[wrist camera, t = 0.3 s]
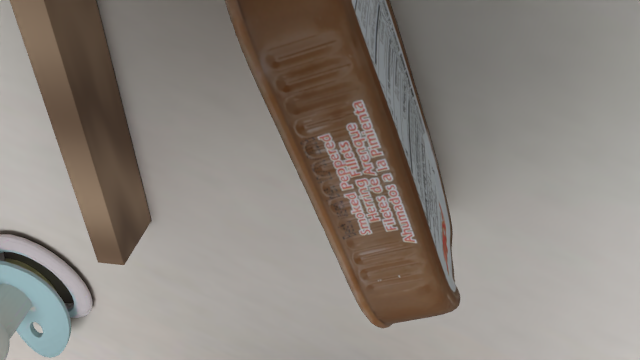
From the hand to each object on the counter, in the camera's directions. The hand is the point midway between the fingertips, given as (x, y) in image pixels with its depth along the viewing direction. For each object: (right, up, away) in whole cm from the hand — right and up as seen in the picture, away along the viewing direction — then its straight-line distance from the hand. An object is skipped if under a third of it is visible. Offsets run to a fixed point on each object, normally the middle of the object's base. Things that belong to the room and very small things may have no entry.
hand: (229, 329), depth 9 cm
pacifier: (-14, -3, +23) cm, 27 cm away
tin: (+3, +7, +12) cm, 15 cm away
